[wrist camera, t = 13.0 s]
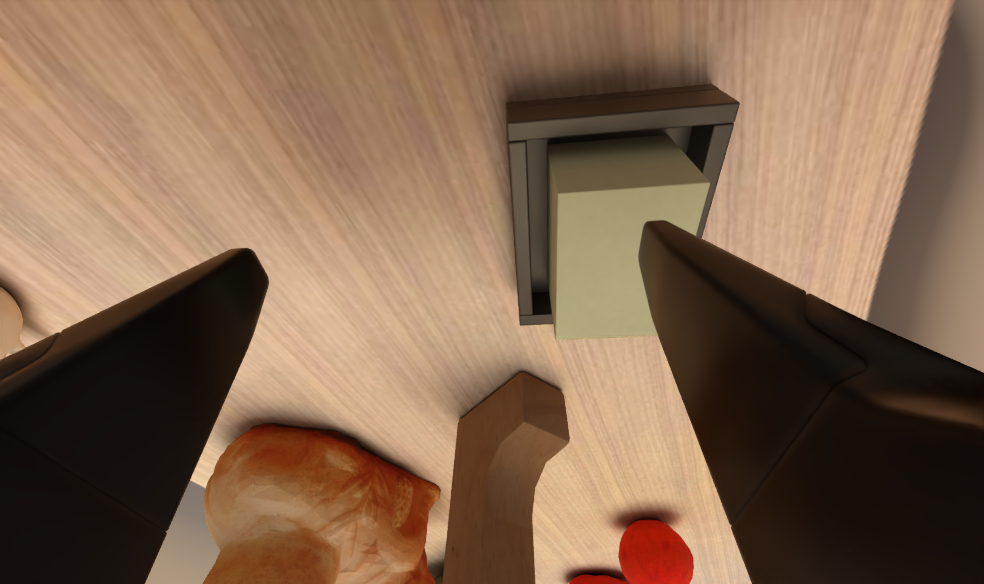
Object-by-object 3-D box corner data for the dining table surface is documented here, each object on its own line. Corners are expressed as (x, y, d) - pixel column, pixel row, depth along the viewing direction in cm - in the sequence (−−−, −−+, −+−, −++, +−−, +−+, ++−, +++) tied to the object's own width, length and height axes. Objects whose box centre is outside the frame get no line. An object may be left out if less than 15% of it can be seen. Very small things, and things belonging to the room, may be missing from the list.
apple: (669, 502, 45) (693, 581, 40) (688, 526, 49) (712, 601, 44) (602, 516, 48) (615, 592, 42) (625, 538, 52) (640, 609, 47)
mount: (505, 102, 18) (506, 122, 16) (712, 83, 18) (741, 102, 16) (518, 294, 26) (519, 326, 24) (664, 286, 25) (679, 318, 23)
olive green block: (546, 144, 19) (557, 193, 15) (668, 134, 18) (711, 182, 15) (547, 278, 24) (555, 340, 20) (642, 273, 24) (669, 335, 20)
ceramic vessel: (400, 530, 52) (371, 693, 41) (203, 444, 39) (79, 649, 28) (483, 504, 47) (477, 685, 35) (286, 394, 33) (173, 625, 22)
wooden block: (521, 368, 31) (536, 709, 17) (565, 390, 32) (610, 717, 19) (456, 420, 35) (426, 718, 22) (497, 437, 37) (493, 724, 23)
